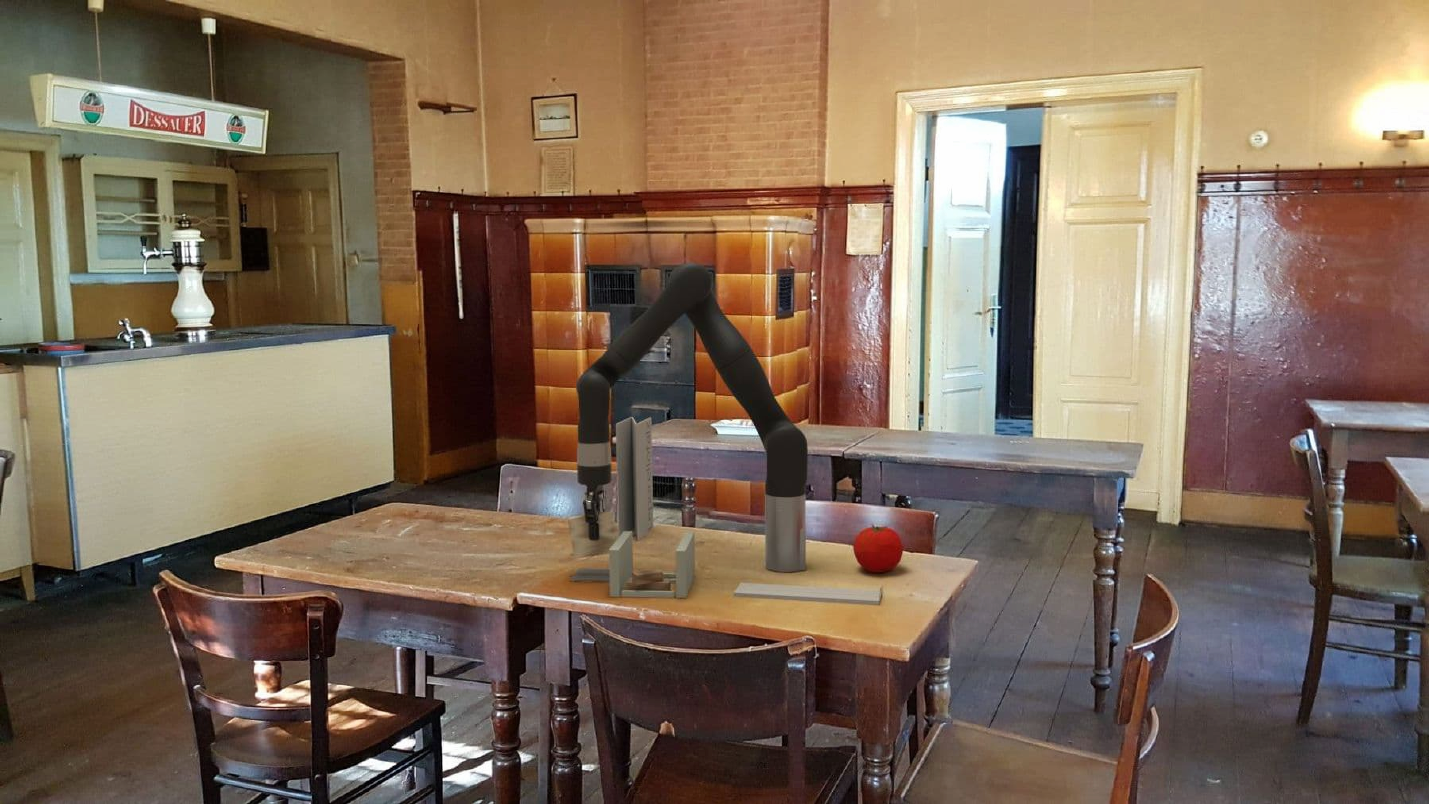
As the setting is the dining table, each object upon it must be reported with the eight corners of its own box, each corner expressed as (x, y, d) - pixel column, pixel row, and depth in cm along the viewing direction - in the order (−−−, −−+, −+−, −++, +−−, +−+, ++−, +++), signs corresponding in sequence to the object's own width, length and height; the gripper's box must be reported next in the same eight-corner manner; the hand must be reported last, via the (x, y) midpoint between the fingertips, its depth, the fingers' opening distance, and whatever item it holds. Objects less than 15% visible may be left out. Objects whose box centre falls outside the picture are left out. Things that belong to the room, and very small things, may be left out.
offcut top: (658, 577, 222) (658, 568, 221) (663, 581, 219) (663, 571, 219) (632, 581, 219) (631, 572, 219) (636, 584, 217) (636, 575, 216)
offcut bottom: (670, 592, 221) (670, 578, 221) (669, 596, 218) (669, 582, 218) (628, 592, 221) (628, 578, 221) (626, 596, 218) (626, 582, 218)
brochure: (638, 540, 265) (636, 424, 261) (618, 539, 266) (615, 424, 262) (653, 528, 279) (651, 417, 275) (633, 527, 280) (631, 416, 276)
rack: (694, 575, 232) (694, 532, 231) (685, 598, 216) (685, 551, 215) (624, 574, 234) (623, 531, 233) (610, 596, 217) (609, 549, 216)
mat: (622, 571, 237) (622, 569, 237) (614, 582, 228) (614, 580, 228) (579, 570, 238) (579, 568, 238) (570, 581, 229) (570, 579, 229)
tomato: (910, 566, 238) (911, 522, 237) (891, 580, 227) (892, 534, 226) (864, 560, 244) (865, 517, 243) (844, 573, 233) (844, 529, 232)
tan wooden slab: (620, 550, 233) (613, 511, 232) (617, 552, 230) (611, 513, 230) (576, 555, 234) (570, 516, 233) (574, 558, 232) (567, 519, 231)
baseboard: (743, 585, 227) (733, 599, 217) (743, 573, 226) (733, 586, 217) (882, 593, 220) (879, 608, 210) (883, 580, 219) (879, 594, 210)
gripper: (604, 467, 223) (605, 546, 225) (616, 456, 236) (618, 531, 238) (570, 467, 223) (571, 545, 225) (584, 456, 237) (585, 530, 239)
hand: (595, 537), depth 232 cm, fingers closed on tan wooden slab, 2 cm apart
